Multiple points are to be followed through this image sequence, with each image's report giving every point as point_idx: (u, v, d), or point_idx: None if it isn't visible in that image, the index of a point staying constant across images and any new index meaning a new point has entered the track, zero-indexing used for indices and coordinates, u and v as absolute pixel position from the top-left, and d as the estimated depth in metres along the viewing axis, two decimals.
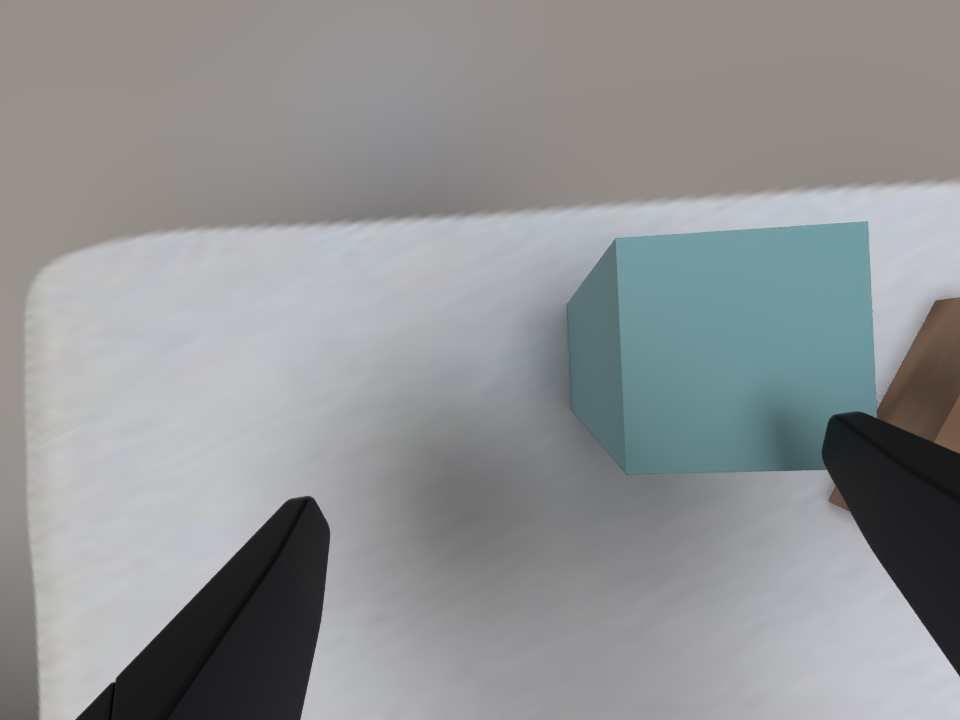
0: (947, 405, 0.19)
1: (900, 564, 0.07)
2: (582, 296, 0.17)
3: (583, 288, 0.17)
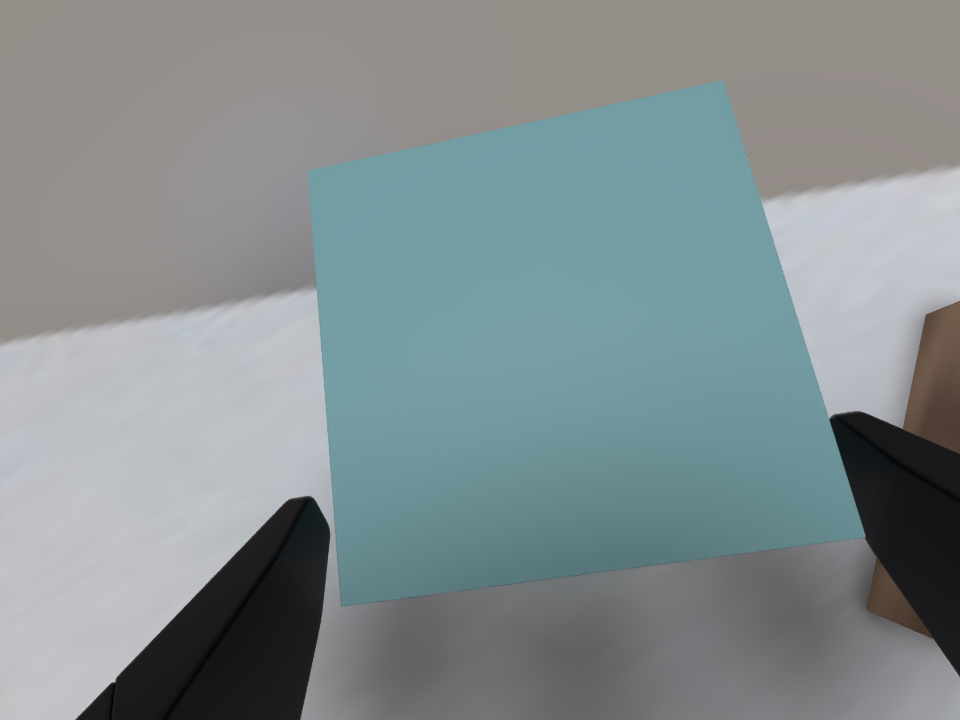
0: None
1: (900, 564, 0.07)
2: None
3: None
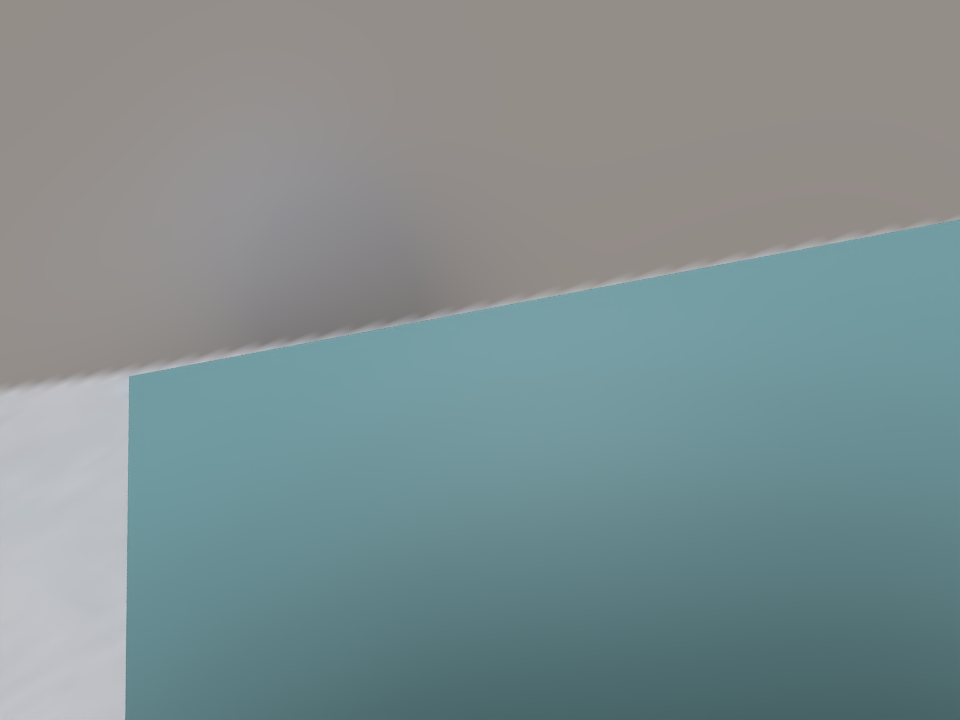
0: None
1: None
2: None
3: None
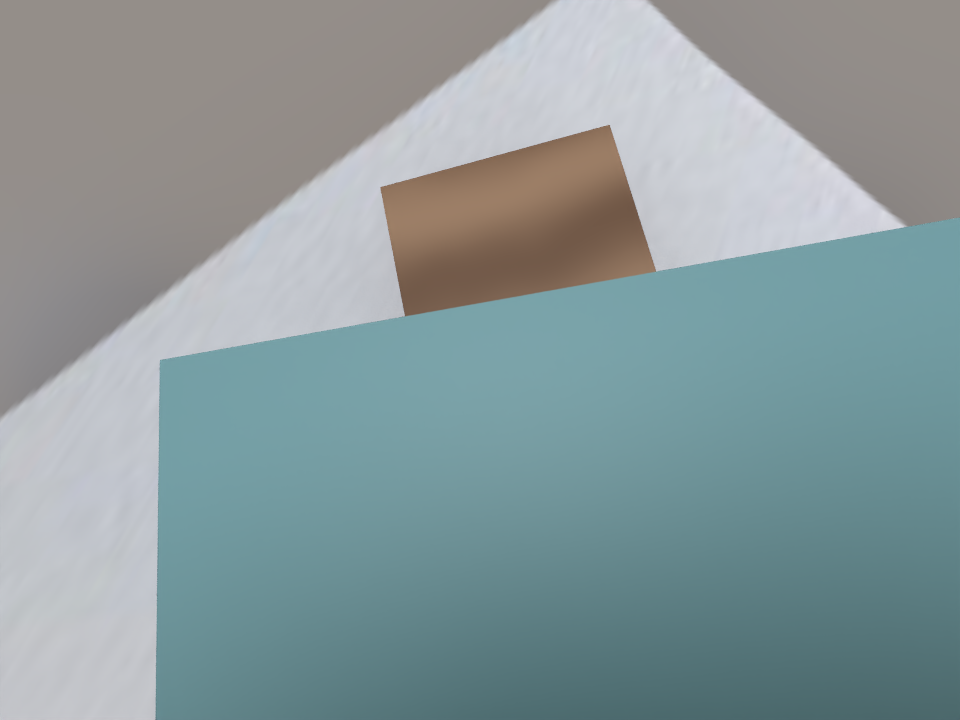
0: (401, 292, 0.21)
1: None
2: None
3: None
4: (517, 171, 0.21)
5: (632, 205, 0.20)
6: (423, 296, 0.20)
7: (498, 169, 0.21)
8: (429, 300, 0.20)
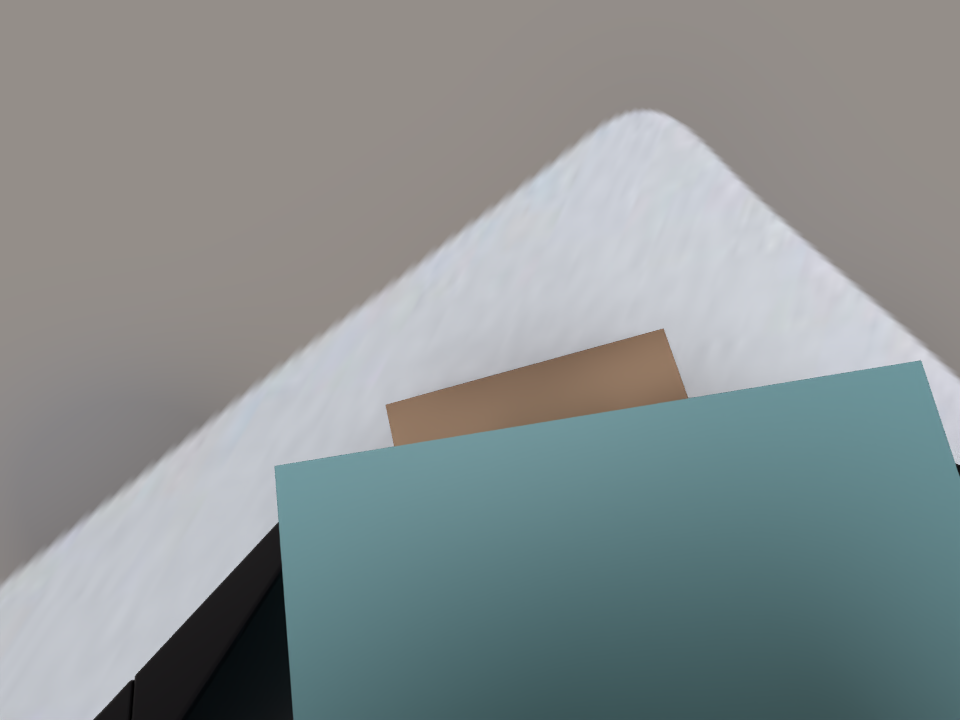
0: None
1: None
2: None
3: None
4: (553, 388, 0.17)
5: None
6: None
7: (529, 384, 0.17)
8: None
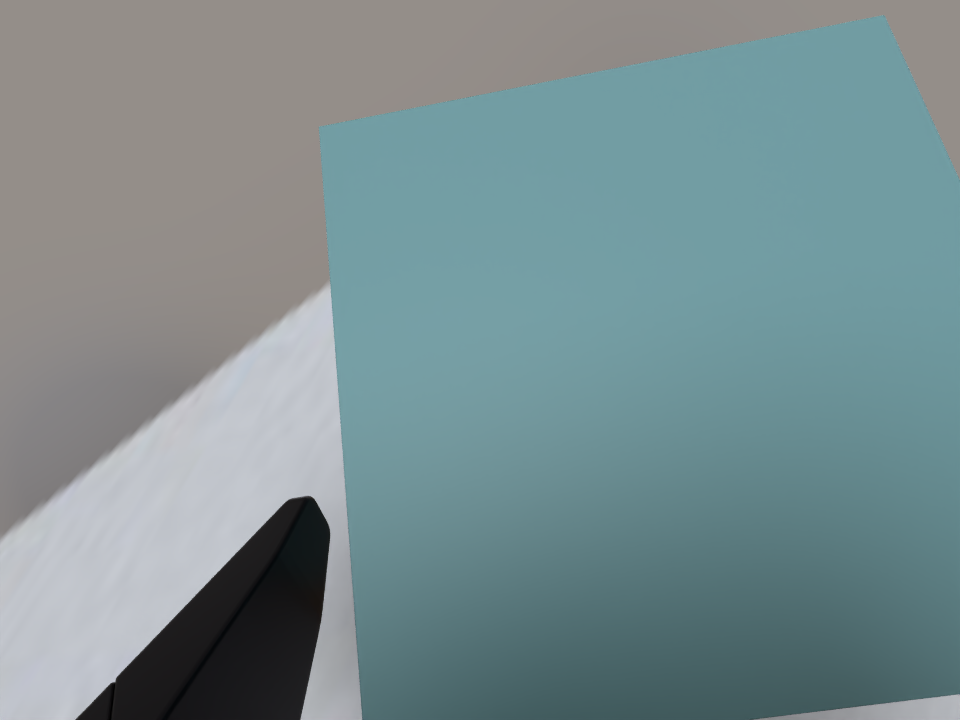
0: None
1: None
2: None
3: None
4: None
5: None
6: None
7: None
8: None
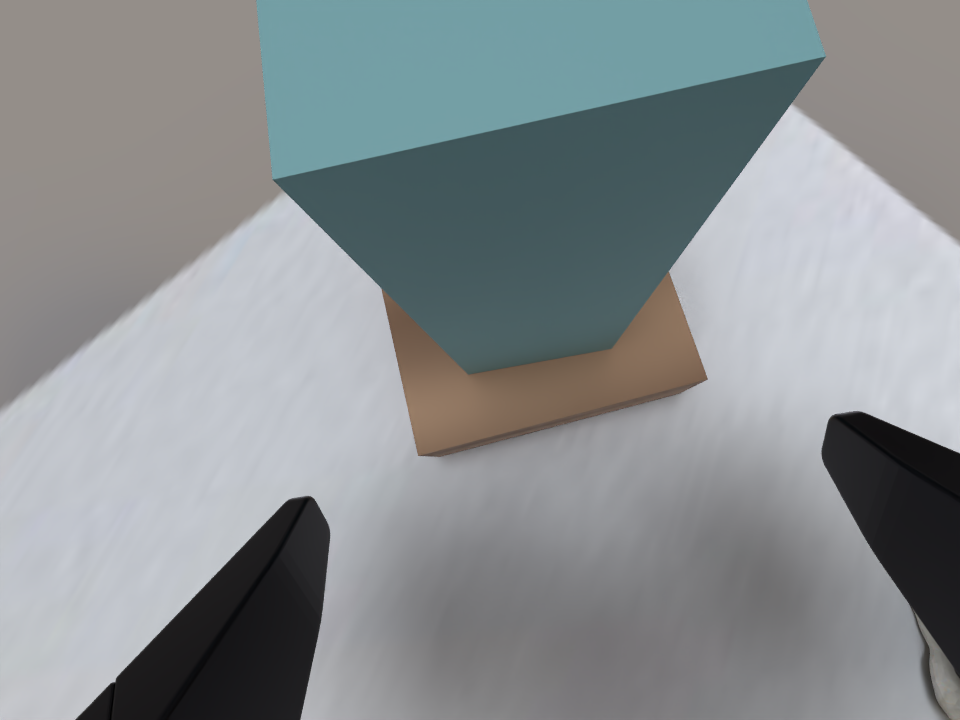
0: (390, 318, 0.19)
1: (900, 564, 0.07)
2: None
3: None
4: None
5: None
6: (414, 323, 0.18)
7: None
8: None
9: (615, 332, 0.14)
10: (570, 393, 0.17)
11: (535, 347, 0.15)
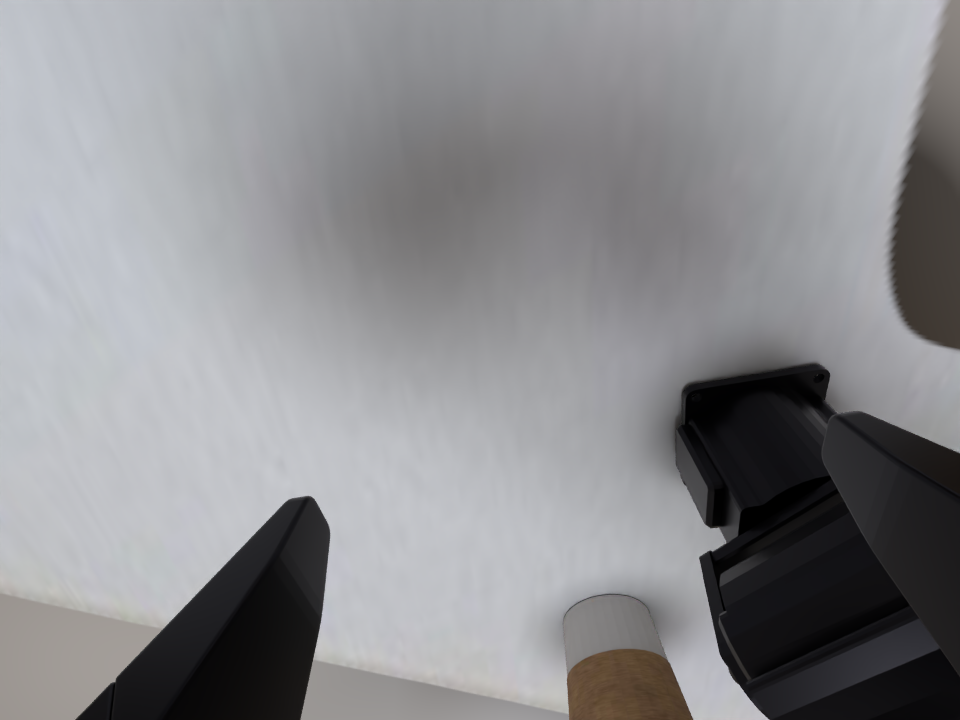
0: None
1: (900, 564, 0.07)
2: None
3: None
4: None
5: None
6: None
7: None
8: None
9: None
10: None
11: None
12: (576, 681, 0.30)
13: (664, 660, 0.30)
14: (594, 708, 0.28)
